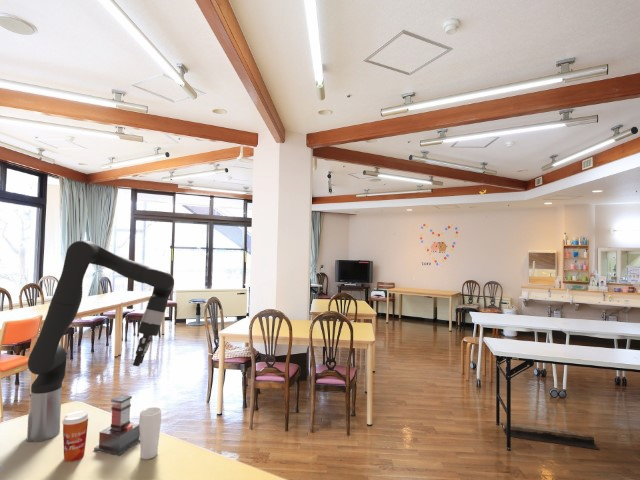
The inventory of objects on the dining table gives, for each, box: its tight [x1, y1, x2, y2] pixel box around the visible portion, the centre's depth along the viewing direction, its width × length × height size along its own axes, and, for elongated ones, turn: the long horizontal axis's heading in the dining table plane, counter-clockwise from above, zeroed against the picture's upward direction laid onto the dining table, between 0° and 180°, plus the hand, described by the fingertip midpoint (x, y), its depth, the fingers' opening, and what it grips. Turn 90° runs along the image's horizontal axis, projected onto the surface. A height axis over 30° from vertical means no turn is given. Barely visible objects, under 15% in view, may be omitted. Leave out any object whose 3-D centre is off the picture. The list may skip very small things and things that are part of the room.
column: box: [110, 394, 133, 433], centre depth 126 cm, size 5×5×16 cm
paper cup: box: [61, 410, 91, 463], centre depth 118 cm, size 8×8×14 cm
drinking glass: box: [138, 406, 162, 460], centre depth 120 cm, size 7×7×15 cm
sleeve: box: [93, 421, 140, 457], centre depth 126 cm, size 11×11×7 cm
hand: (137, 364), depth 134 cm, fingers open, 8 cm apart
